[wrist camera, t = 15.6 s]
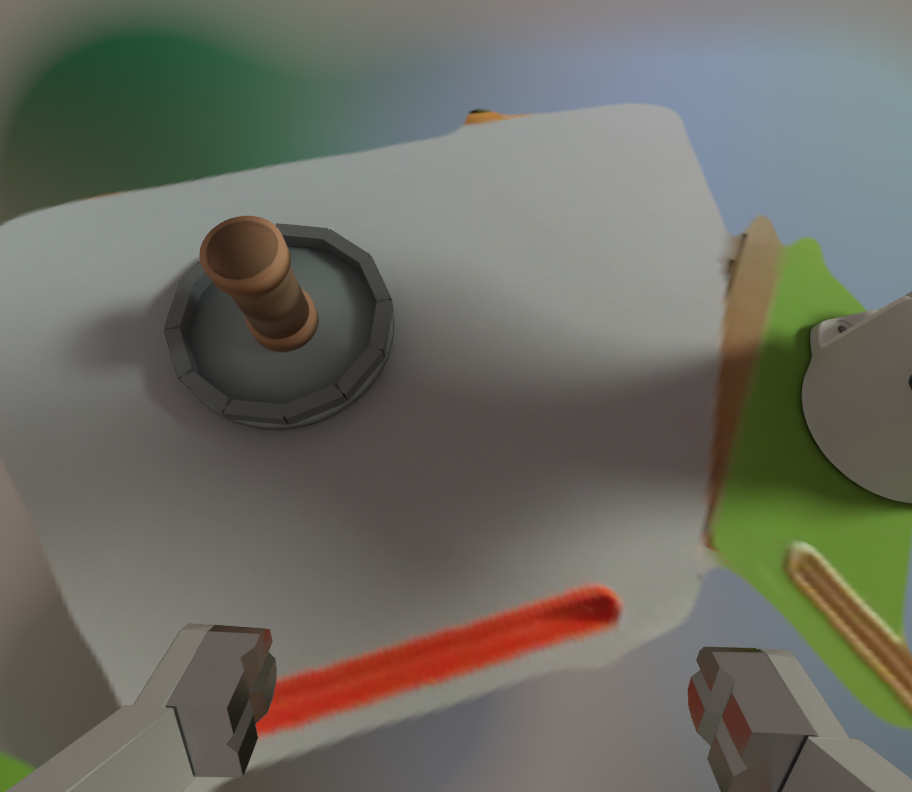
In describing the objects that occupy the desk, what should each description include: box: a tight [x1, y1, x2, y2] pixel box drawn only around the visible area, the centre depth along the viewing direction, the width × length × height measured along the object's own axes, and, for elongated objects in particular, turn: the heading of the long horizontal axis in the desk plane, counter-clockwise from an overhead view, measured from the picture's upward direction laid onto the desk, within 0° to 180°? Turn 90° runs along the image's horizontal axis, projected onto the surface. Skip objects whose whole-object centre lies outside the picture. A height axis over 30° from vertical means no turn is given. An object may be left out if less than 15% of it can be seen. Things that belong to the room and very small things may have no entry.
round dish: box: [164, 223, 394, 429], centre depth 44 cm, size 18×18×2 cm
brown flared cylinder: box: [200, 216, 319, 352], centre depth 39 cm, size 6×6×10 cm
